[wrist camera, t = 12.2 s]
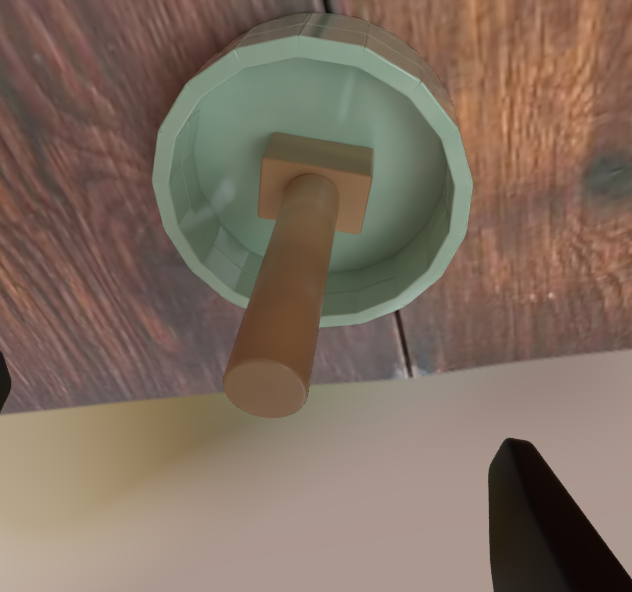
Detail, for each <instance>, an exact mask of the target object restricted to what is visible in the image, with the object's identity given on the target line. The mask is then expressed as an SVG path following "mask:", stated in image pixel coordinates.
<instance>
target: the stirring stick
mask: <svg viewBox="0 0 632 592" xmlns="http://www.w3.org/2000/svg"><path fill="white" fill-rule="evenodd" d="M374 154H375V151H374V149H371V148H365V147H359V146H354V145H348V144H342V143H336V142H330V141H324V140H318V139H312V138H307V137H301V136H295V135H289V134H283V133H277V132H275V133H273V135H272V137H271V139H270V141H269V144H268V146H267V148H266V150H265V152H264V154H263V157H262V159H261V171H260V185H259V199H258V217H259V218H264V219H269V220H275V221H276V222H275V225H274V228H273V231H272V234H271V237H270V240H269V243H268V246H267V249H266V252H265V255H264V258H263V261H262V264H261V267H260V270H259V273H258V276H257V279H256V282H255V285H254V288H253V291H252V293H251V296H250V299H249V302H248V305H247V308H246V311H245V314H244V317H243V320H242V323H241V326H240V329H239V332H238V335H237V338H236V341H235V344H234V347H233V350H232V353H231V356H230V359H229V362H228V365H227V368H226V370H225V373H224V376H223V387H224V391H225V393H226V395H227V397H228V398H229V400H230V401H231V402H232V403H233V404H234V405H235V406H237V407H238V408H240V409H241V410H243V411H245V412H247V413H250V414H252V415H255V416H259V417H265V418H281V417H286V416H288V415H291V414H293V413H295V412H297V411H298V410H299V409H300V408H301V407H302V406H303V405H304V404H305V402H306V400H307V397H308V392H309V386H310V380H311V374H312V368H313V362H314V356H315V350H316V344H317V338H318V332H319V326H320V319H321V313H322V307H323V301H324V295H325V289H326V283H327V277H328V271H329V265H330V259H331V253H332V247H333V241H334V235H335V231H339V232H345V233H351V234H356V235H359V234H360V233H361V231H362V227H363V222H364V217H365V213H366V208H367V203H368V198H369V194H370V189H371V184H372V180H373V169H374Z"/></svg>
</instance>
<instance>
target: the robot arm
mask: <svg viewBox="0 0 632 592" xmlns="http://www.w3.org/2000/svg"><path fill="white" fill-rule="evenodd" d="M10 389H11V377H10V374H9V371H8V368H7V365H6V362H5V359H4V356H3V354H2V352H1V351H0V412H1V410H2V408H3V406H4V404H5V401H6V399H7V397H8V395H9V393H10ZM488 484H489V485H488V487H489V538H490V539H489V543H490V564H491V574H492V582H493V589H494V592H632V579H631V577H630V576H629V575H628V573H627V572H626V571H625V569H624V568H623V566H622V565H621V564H620V562H619V561H618V560H617V558H616V557H615V556H614V554H613V553H612V551H611V550H610V549H609V547H608V546H607V545H606V543H605V542H604V541H603V539H602V538H601V536H600V535H599V534H598V532H597V531H596V530H595V528H594V527H593V526H592V524H591V523H590V521H589V520H588V519H587V517H586V516H585V515H584V513H583V512H582V511H581V509H580V508H579V506H578V505H577V504H576V502H575V501H574V500H573V498H572V497H571V496H570V494H569V493H568V492H567V490H566V489H565V487H564V486H563V485H562V483H561V482H560V481H559V479H558V478H557V477H556V475H555V474H554V472H553V471H552V470H551V468H550V467H549V466H548V464H547V463H546V461H545V460H544V459H543V457H542V456H541V455H540V453H539V452H538V451H537V449H536V448H535V447H534V445H533V444H532V443H530V442H529V441H526V440H520V439H514V438H507V439H505V440H504V441H503V443H502V445H501V446H500V448H499V450H498V452H497V453H496V455H495V457H494V459H493V461H492V463H491V464H490V467H489V475H488Z"/></svg>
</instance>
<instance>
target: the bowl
mask: <svg viewBox="0 0 632 592" xmlns="http://www.w3.org/2000/svg"><path fill="white" fill-rule="evenodd" d="M275 132H277V133H283V134H289V135H295V136H301V137H307V138H312V139H318V140H324V141H330V142H336V143H342V144H348V145H354V146H359V147H365V148H371V149H374V151H375V154H374V169H373V180H372V184H371V189H370V194H369V198H368V203H367V208H366V213H365V217H364V222H363V227H362V231H361V233H360V234H359V235H356V234H351V233H345V232H339V231H335V235H334V241H333V247H332V253H331V259H330V265H329V271H328V277H327V283H326V289H325V295H324V301H323V307H322V313H321V319H320V326H319V328H322V327H332V326H343V325H354V324H361V323H365V322H368V321H370V320H373V319H376V318H378V317H381V316H383V315H386V314H388V313H391V312H393V311H396V310H398V309H401V308H403V307H405V306H407V305H408V304H409V303H410V302H411V301H413V300H414V299H415V298H416V297H417V296H419V295H420V294H421V293H422V292H424V291H425V290H426V289H427V288H428V287H430V286H431V285H432V284H433V283H434V282H436V281H437V280H438V279H439V278H440V277H441V276H442V275H443V273H444V271H445V270H446V268H447V266H448V265H449V263H450V261H451V259H452V258H453V256H454V254H455V253H456V251H457V249H458V248H459V246H460V244H461V242H462V241H463V239H464V237H465V235H466V232H467V225H468V218H469V211H470V205H471V198H472V191H473V180H472V176H471V172H470V168H469V164H468V160H467V156H466V152H465V148H464V144H463V140H462V136H461V132H460V129H459V125H458V121H457V117H456V113H455V109H454V105H453V102H452V100H451V97H450V95H449V94H448V93H447V91H446V90H445V88H444V86H443V84H442V82H441V81H440V79H439V78H438V76H437V75H436V73H435V72H434V71H433V69H432V68H431V66H430V65H429V64H428V63H427V62H426V61H425V60H424V59H423V58H422V57H421V56H420V55H419V54H418V53H417V51H415V50H414V49H413V48H412V47H410V46H409V45H408V44H407V43H405V42H404V41H403V40H402V39H400V38H399V37H397V36H395V35H394V34H392V33H390V32H388V31H387V30H385V29H383V28H382V27H379V26H377V25H374V24H372V23H369V22H367V21H364V20H362V19H358V18H354V17H349V16H345V15H341V14H331V13H321V12H318V13H299V14H294V15H289V16H284V17H279V18H276V19H273V20H270V21H267V22H265V23H262V24H259V25H256V26H255V27H252V28H251V29H250V30H248V31H246V32H244V33H243V34H241V35H240V36H238V37H237V38H236V39H234V40H233V41H232V42H230V43H229V44H228V45H227V46H225V48H223V49H222V50H220V51H219V52H218V53H216V54H215V55H213V56H212V57H211V58H210V59H209V60H208V61H207V62H206V63H205V64H204V65H203V66H202V68H200V69H199V70H198V72H197V73H196V74H195V75H194V76H193V77H192V78H191V79H190V80H189V81H188V82H187V83H186V84H185V85H184V87H183V89H182V90H181V92H180V94H179V95H178V97H177V99H176V100H175V102H174V104H173V105H172V107H171V109H170V111H169V112H168V114H167V116H166V117H165V119H164V121H163V122H162V124H161V126H160V127H159V130H158V134H157V142H156V150H155V157H154V165H153V173H152V184H153V188H154V192H155V196H156V200H157V204H158V208H159V212H160V216H161V220H162V224H163V228H164V230H165V232H166V233H167V235H168V236H169V238H170V239H171V241H172V243H173V244H174V246H175V247H176V249H177V250H178V252H179V253H180V255H181V256H182V258H183V259H184V261H185V263H186V264H187V266H188V267H189V268H190V269H191V271H192V272H194V273H195V274H196V275H197V276H198V277H199V278H201V279H202V280H203V281H204V282H205V283H207V284H208V285H209V286H210V287H211V288H212V289H214V290H215V291H216V292H217V293H218V294H220V295H221V296H222V297H223V298H224V299H227V301H229V302H231V303H234V304H236V305H238V306H240V307H242V308H244V309H246V308H247V305H248V302H249V299H250V296H251V293H252V291H253V288H254V285H255V282H256V279H257V276H258V273H259V270H260V267H261V264H262V261H263V258H264V255H265V252H266V249H267V246H268V243H269V240H270V237H271V234H272V231H273V228H274V225H275V222H276V221H275V220H269V219H264V218H259V217H258V199H259V185H260V171H261V159H262V157H263V154H264V152H265V150H266V148H267V146H268V144H269V141H270V139H271V137H272V135H273V133H275Z"/></svg>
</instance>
